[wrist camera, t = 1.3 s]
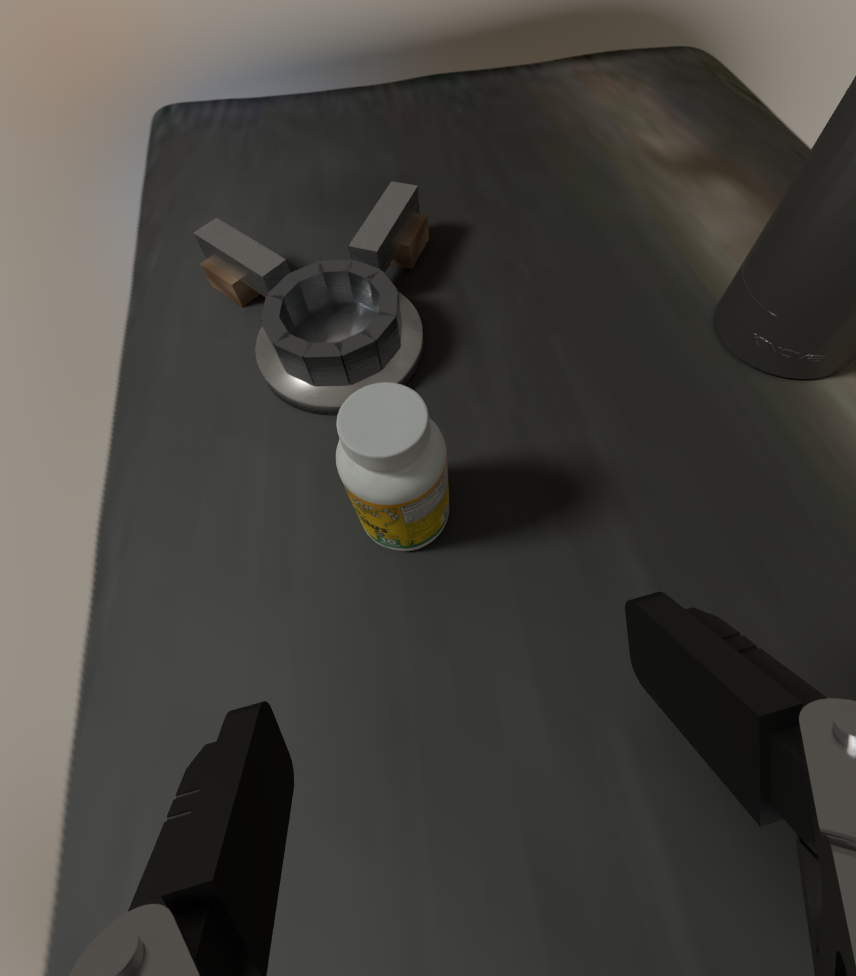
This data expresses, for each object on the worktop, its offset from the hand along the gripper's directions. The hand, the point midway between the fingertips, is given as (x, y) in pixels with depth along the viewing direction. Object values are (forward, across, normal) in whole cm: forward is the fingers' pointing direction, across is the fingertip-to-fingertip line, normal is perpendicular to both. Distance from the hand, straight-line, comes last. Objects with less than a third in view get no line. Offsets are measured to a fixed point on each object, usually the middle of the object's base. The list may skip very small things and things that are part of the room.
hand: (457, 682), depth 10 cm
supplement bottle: (+19, 0, +3) cm, 19 cm away
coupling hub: (+29, +1, -8) cm, 30 cm away
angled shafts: (+34, +1, -16) cm, 37 cm away
